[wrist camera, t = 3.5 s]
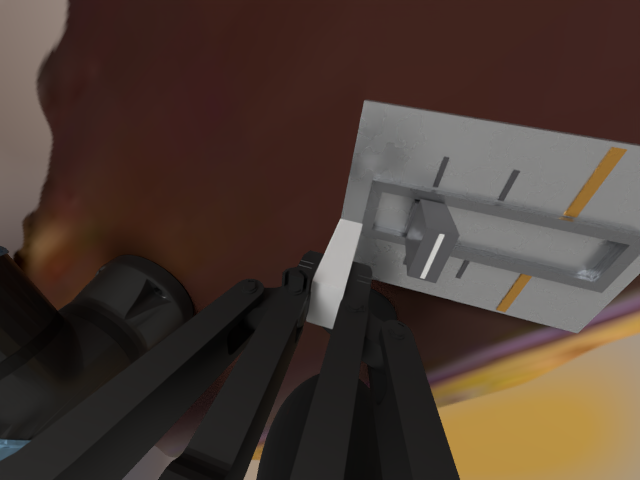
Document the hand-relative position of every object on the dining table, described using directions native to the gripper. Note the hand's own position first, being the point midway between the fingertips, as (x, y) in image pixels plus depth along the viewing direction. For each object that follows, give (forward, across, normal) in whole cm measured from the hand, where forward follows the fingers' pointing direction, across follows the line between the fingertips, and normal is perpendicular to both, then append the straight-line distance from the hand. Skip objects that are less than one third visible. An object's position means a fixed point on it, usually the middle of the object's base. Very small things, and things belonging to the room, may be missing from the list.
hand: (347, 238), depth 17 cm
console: (+9, +10, 0) cm, 14 cm away
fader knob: (+7, +6, 0) cm, 9 cm away
